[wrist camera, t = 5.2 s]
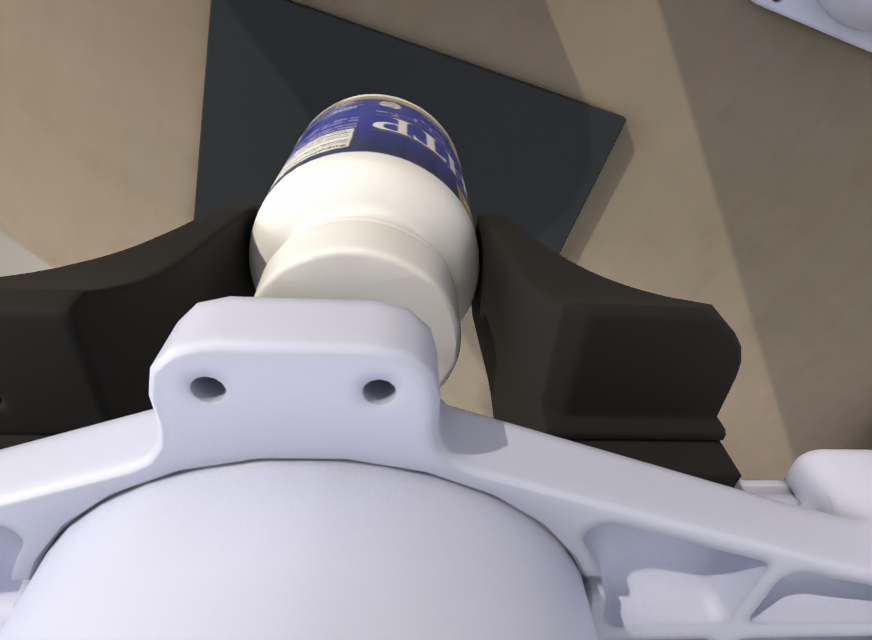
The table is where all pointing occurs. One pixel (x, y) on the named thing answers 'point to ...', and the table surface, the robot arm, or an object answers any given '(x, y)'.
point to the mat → (394, 76)
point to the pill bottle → (372, 218)
